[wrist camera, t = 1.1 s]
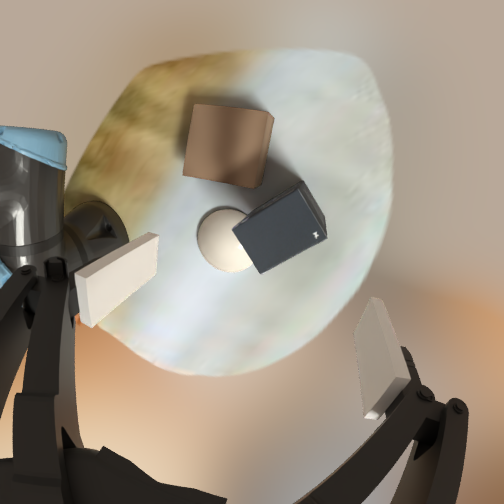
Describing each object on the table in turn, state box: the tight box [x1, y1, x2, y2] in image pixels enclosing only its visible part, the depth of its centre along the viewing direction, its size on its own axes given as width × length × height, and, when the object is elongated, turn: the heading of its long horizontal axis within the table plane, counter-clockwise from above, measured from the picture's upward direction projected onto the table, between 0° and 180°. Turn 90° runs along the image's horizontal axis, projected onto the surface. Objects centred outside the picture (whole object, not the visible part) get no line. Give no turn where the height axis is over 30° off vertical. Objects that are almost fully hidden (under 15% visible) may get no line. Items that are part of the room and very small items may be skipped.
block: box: [183, 104, 274, 189], centre depth 32 cm, size 9×9×5 cm
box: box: [232, 181, 327, 274], centre depth 31 cm, size 8×6×11 cm
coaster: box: [198, 209, 253, 272], centre depth 38 cm, size 9×9×1 cm
